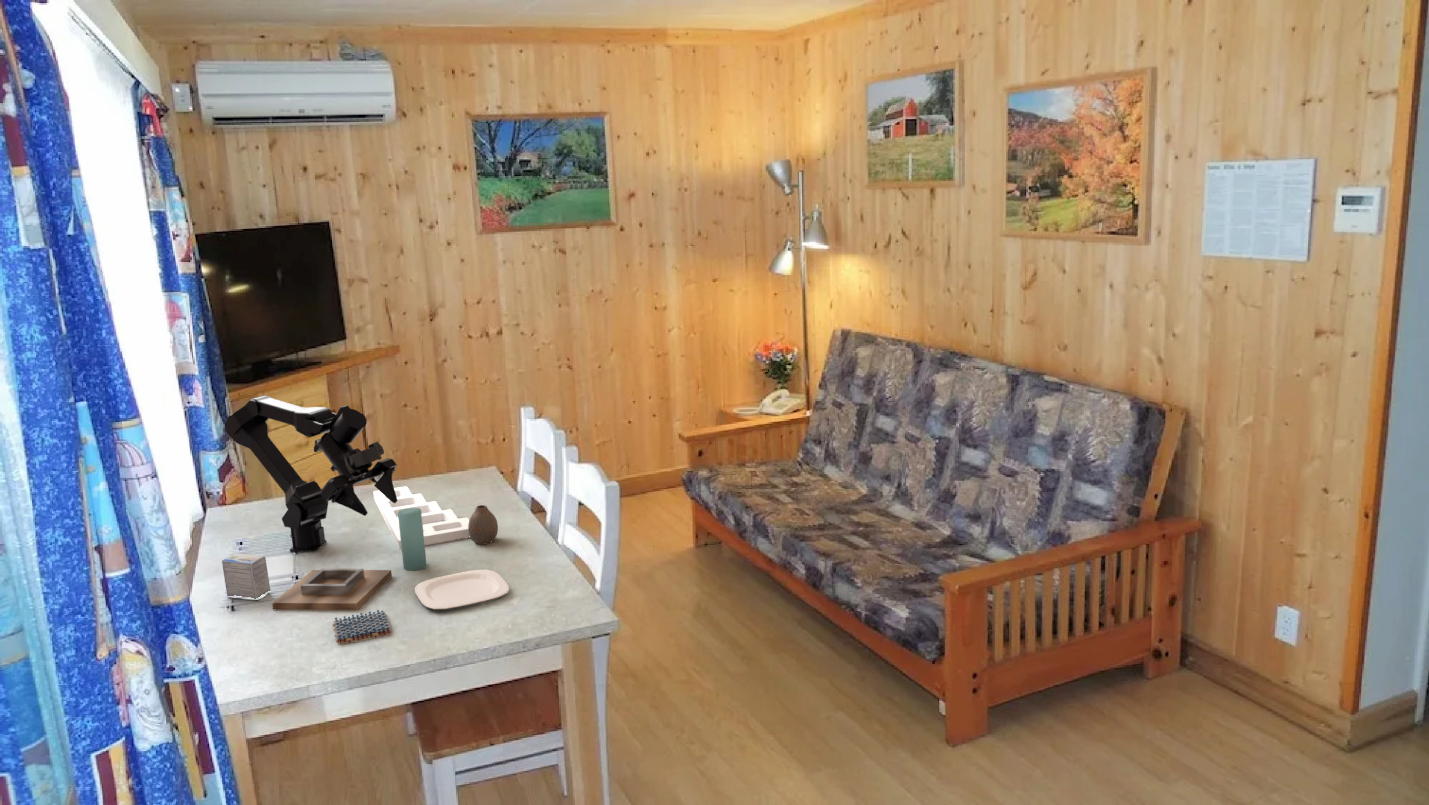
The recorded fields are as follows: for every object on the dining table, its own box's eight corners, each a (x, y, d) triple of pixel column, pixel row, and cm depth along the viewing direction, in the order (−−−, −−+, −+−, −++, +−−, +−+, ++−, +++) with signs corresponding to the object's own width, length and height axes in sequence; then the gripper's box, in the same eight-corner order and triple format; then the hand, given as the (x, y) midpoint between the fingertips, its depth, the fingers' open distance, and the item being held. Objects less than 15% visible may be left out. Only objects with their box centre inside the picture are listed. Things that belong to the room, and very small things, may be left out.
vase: (492, 547, 248) (489, 511, 246) (464, 546, 249) (461, 510, 247) (503, 537, 254) (500, 502, 252) (476, 536, 256) (473, 501, 254)
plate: (428, 620, 209) (428, 612, 209) (409, 589, 225) (408, 582, 225) (517, 600, 217) (516, 592, 217) (492, 572, 233) (492, 565, 233)
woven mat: (336, 648, 198) (335, 638, 198) (332, 627, 208) (331, 617, 208) (393, 637, 202) (392, 627, 202) (387, 617, 212) (386, 607, 212)
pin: (400, 570, 235) (394, 515, 232) (408, 562, 240) (402, 507, 237) (421, 570, 235) (416, 515, 232) (429, 562, 240) (424, 507, 237)
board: (273, 609, 216) (270, 593, 215) (313, 576, 234) (311, 561, 233) (357, 610, 214) (355, 594, 214) (391, 576, 232) (390, 561, 231)
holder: (374, 500, 288) (373, 491, 288) (440, 490, 296) (439, 481, 295) (399, 551, 248) (398, 540, 248) (475, 538, 256) (474, 527, 255)
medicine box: (271, 594, 225) (266, 555, 223) (256, 602, 221) (251, 563, 219) (242, 590, 227) (236, 552, 225) (226, 598, 223) (220, 559, 221)
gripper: (325, 444, 228) (367, 500, 226) (388, 424, 244) (427, 476, 242) (303, 473, 233) (343, 528, 231) (365, 452, 250) (404, 503, 247)
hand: (381, 508), depth 238 cm, fingers open, 9 cm apart
